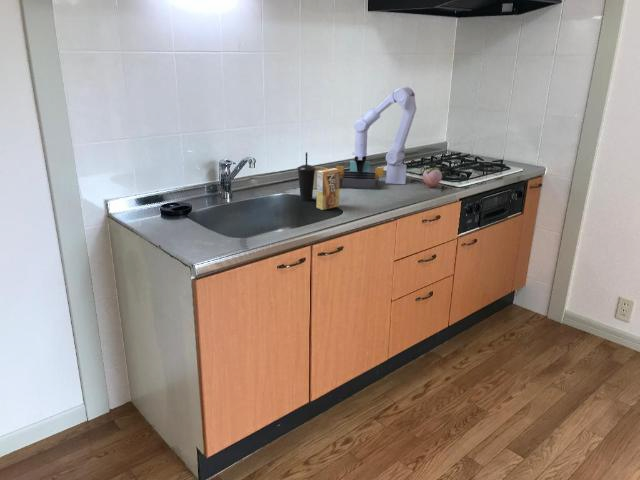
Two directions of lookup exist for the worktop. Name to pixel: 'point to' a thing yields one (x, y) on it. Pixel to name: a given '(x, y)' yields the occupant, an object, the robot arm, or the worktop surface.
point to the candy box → (328, 188)
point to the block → (365, 168)
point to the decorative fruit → (432, 176)
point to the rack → (359, 179)
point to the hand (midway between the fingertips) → (359, 171)
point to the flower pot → (316, 176)
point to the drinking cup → (306, 181)
